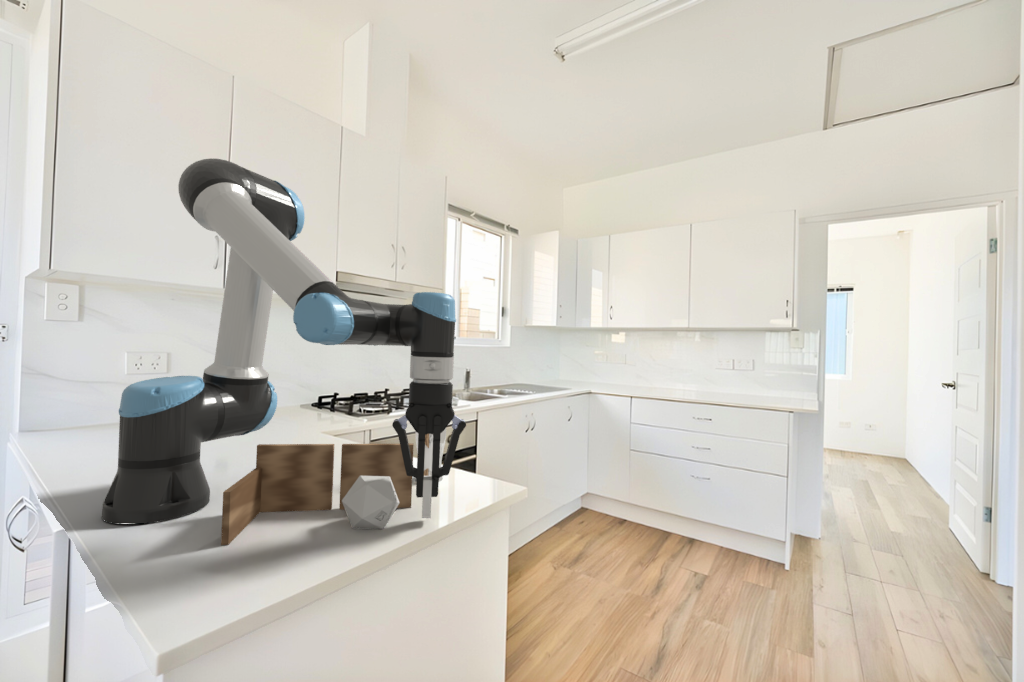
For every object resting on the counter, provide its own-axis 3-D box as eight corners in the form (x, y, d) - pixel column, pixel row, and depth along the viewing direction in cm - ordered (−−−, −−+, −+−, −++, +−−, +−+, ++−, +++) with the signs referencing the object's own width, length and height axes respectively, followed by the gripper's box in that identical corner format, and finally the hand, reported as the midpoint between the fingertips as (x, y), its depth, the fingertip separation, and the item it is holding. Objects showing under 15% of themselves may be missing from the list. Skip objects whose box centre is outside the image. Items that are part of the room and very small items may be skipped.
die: (365, 545, 70) (405, 489, 73) (322, 512, 71) (363, 459, 75) (379, 542, 78) (414, 492, 81) (340, 512, 79) (376, 464, 82)
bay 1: (220, 545, 67) (224, 465, 67) (256, 510, 80) (259, 444, 81) (312, 541, 69) (315, 464, 69) (331, 508, 83) (334, 443, 83)
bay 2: (339, 509, 82) (341, 445, 82) (340, 507, 83) (342, 443, 83) (411, 507, 85) (413, 444, 85) (411, 505, 86) (413, 443, 86)
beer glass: (430, 486, 98) (432, 417, 98) (407, 479, 101) (409, 414, 101) (450, 478, 104) (453, 414, 104) (428, 473, 107) (430, 411, 107)
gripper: (391, 382, 73) (385, 525, 73) (470, 383, 76) (465, 522, 75) (394, 378, 81) (389, 508, 80) (466, 379, 83) (461, 506, 83)
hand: (426, 514), depth 78 cm, fingers closed
